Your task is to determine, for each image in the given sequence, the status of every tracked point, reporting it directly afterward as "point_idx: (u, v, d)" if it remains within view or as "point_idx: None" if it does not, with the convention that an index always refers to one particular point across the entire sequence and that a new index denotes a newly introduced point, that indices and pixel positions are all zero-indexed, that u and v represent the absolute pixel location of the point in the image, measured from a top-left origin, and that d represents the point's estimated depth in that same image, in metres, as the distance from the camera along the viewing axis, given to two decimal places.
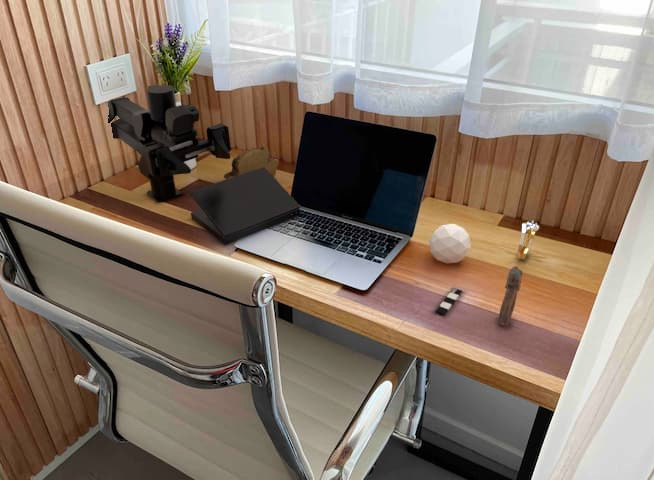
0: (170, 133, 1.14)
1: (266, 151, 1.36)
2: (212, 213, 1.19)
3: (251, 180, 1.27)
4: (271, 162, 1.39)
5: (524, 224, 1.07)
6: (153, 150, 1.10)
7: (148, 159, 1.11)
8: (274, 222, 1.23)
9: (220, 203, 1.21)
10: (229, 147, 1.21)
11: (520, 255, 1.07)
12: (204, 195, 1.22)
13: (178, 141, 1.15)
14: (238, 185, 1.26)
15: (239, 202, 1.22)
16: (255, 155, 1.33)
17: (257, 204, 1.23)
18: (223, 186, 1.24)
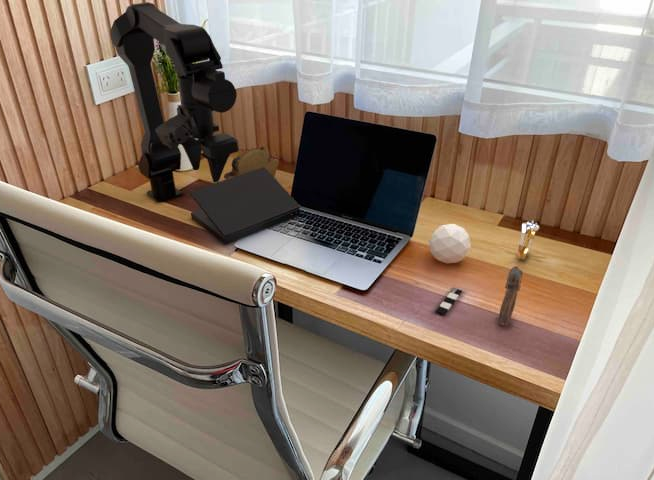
0: None
1: (266, 151, 1.36)
2: (212, 213, 1.19)
3: (251, 180, 1.27)
4: (271, 162, 1.39)
5: (524, 224, 1.07)
6: None
7: None
8: (274, 222, 1.23)
9: (220, 203, 1.21)
10: None
11: (520, 255, 1.07)
12: (204, 195, 1.22)
13: None
14: (238, 185, 1.26)
15: (239, 202, 1.22)
16: (255, 155, 1.33)
17: (257, 204, 1.23)
18: (223, 186, 1.24)
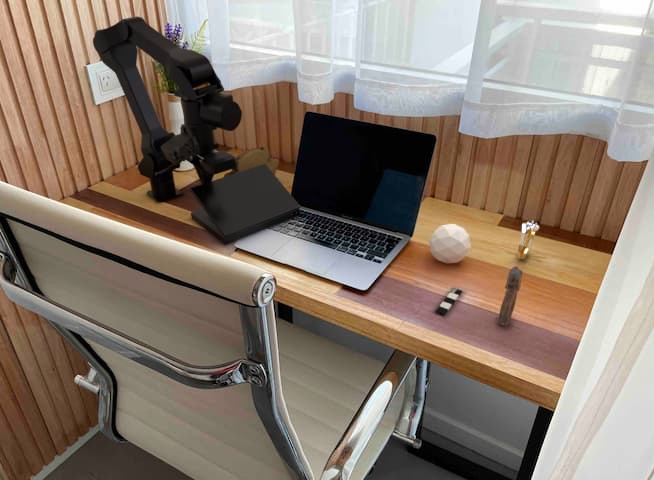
0: None
1: (266, 151, 1.36)
2: (212, 212, 1.18)
3: (252, 177, 1.27)
4: (271, 162, 1.39)
5: (524, 224, 1.07)
6: None
7: None
8: (274, 222, 1.23)
9: (220, 201, 1.20)
10: None
11: (520, 255, 1.07)
12: (204, 192, 1.21)
13: None
14: (239, 182, 1.25)
15: (239, 201, 1.22)
16: (255, 155, 1.33)
17: (257, 203, 1.23)
18: (224, 183, 1.24)
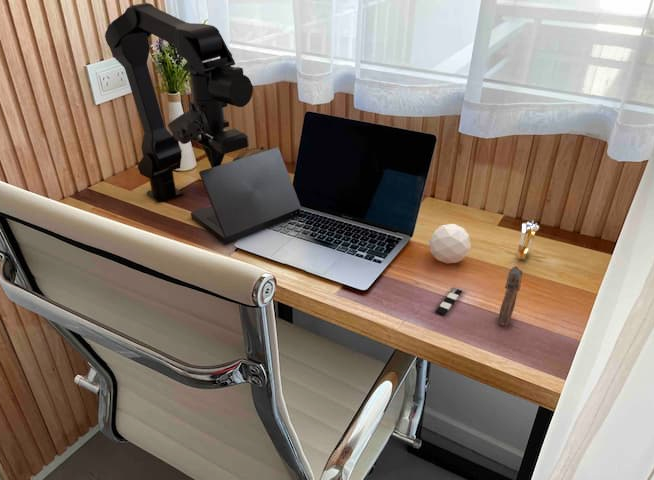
0: None
1: None
2: (218, 206, 1.15)
3: (262, 164, 1.21)
4: None
5: (524, 224, 1.07)
6: None
7: None
8: (274, 222, 1.23)
9: (227, 193, 1.16)
10: None
11: (520, 255, 1.07)
12: (213, 179, 1.15)
13: None
14: (248, 170, 1.19)
15: (246, 194, 1.18)
16: None
17: (262, 200, 1.20)
18: (234, 169, 1.18)
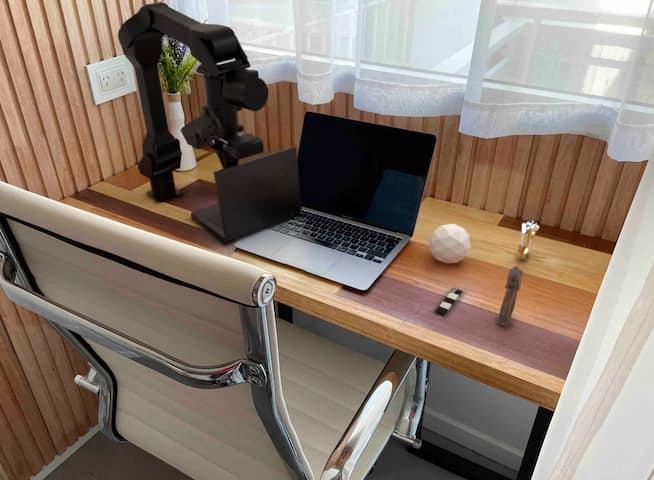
0: None
1: (266, 151, 1.36)
2: (225, 208, 1.13)
3: (276, 165, 1.17)
4: None
5: (524, 224, 1.07)
6: None
7: None
8: (274, 222, 1.23)
9: (237, 195, 1.13)
10: None
11: (520, 255, 1.07)
12: (226, 181, 1.11)
13: None
14: (262, 171, 1.15)
15: (254, 196, 1.16)
16: (255, 155, 1.33)
17: (268, 201, 1.19)
18: (248, 170, 1.13)
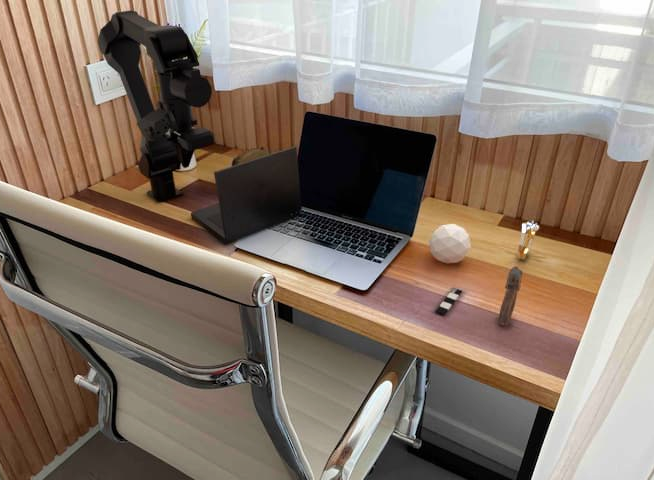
0: None
1: (266, 151, 1.36)
2: (225, 209, 1.13)
3: (276, 166, 1.17)
4: None
5: (524, 224, 1.07)
6: None
7: None
8: (274, 222, 1.23)
9: (237, 195, 1.13)
10: None
11: (520, 255, 1.07)
12: (227, 181, 1.11)
13: None
14: (262, 171, 1.15)
15: (254, 196, 1.16)
16: (255, 155, 1.33)
17: (268, 201, 1.19)
18: (248, 170, 1.13)
